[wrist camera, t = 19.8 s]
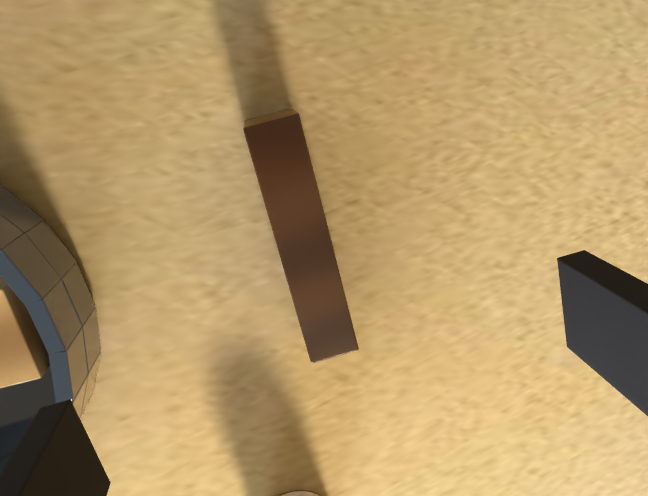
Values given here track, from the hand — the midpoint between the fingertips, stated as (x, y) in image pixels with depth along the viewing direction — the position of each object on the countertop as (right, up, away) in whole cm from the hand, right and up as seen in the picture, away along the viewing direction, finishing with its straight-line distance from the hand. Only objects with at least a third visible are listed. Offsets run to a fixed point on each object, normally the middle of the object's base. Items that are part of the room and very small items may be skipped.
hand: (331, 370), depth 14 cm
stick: (-2, +4, +15) cm, 16 cm away
